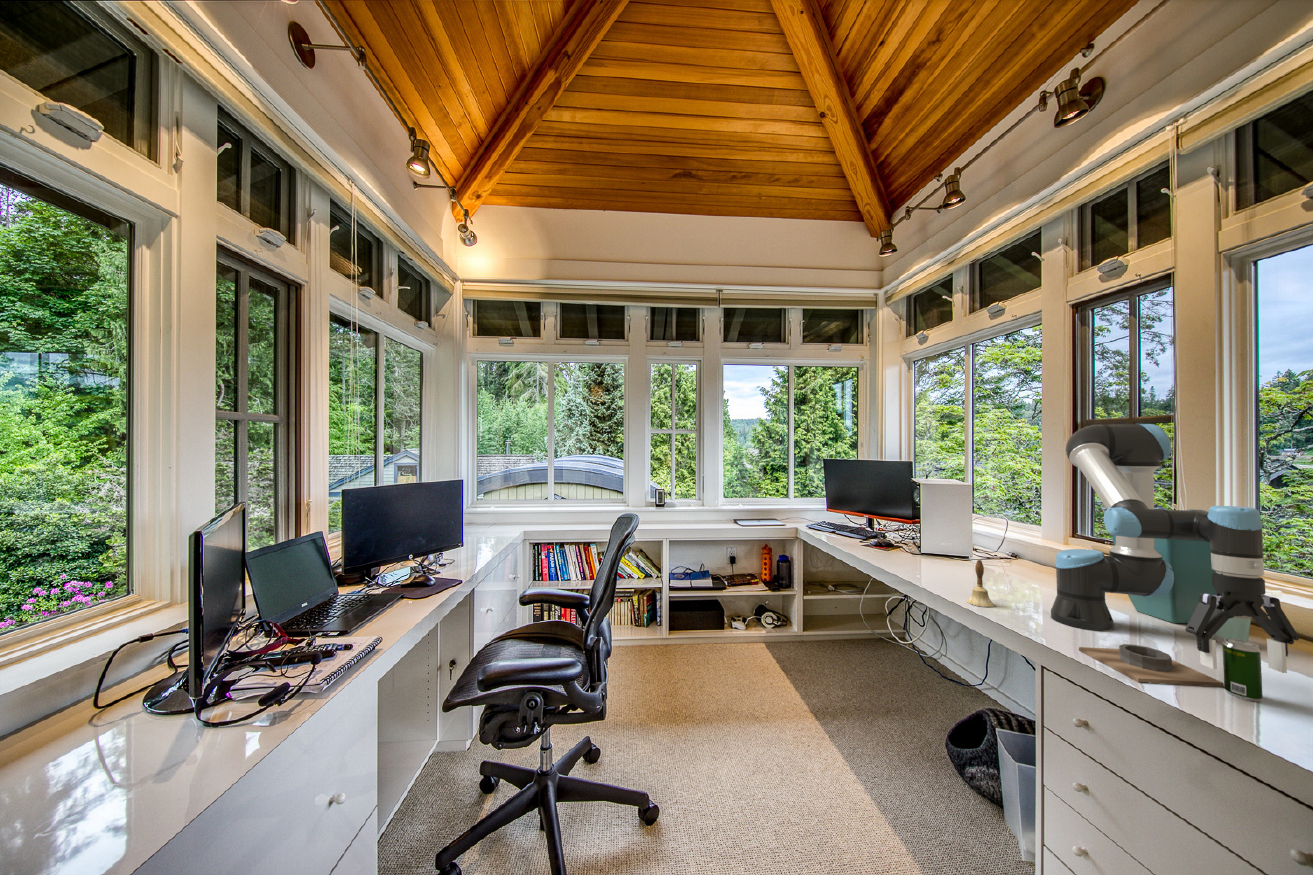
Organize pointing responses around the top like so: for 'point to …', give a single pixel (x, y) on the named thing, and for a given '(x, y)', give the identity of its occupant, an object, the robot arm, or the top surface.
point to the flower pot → (1180, 580)
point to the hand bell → (980, 589)
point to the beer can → (1242, 669)
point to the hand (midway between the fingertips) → (1242, 668)
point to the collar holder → (1149, 665)
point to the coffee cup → (1234, 629)
